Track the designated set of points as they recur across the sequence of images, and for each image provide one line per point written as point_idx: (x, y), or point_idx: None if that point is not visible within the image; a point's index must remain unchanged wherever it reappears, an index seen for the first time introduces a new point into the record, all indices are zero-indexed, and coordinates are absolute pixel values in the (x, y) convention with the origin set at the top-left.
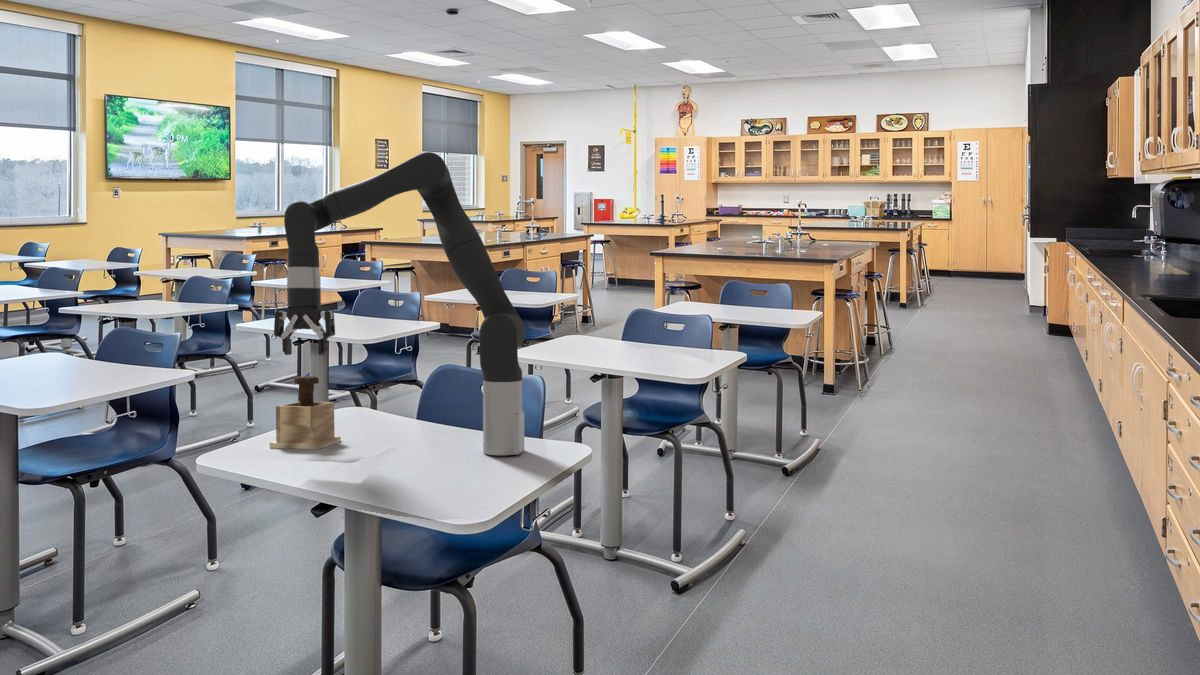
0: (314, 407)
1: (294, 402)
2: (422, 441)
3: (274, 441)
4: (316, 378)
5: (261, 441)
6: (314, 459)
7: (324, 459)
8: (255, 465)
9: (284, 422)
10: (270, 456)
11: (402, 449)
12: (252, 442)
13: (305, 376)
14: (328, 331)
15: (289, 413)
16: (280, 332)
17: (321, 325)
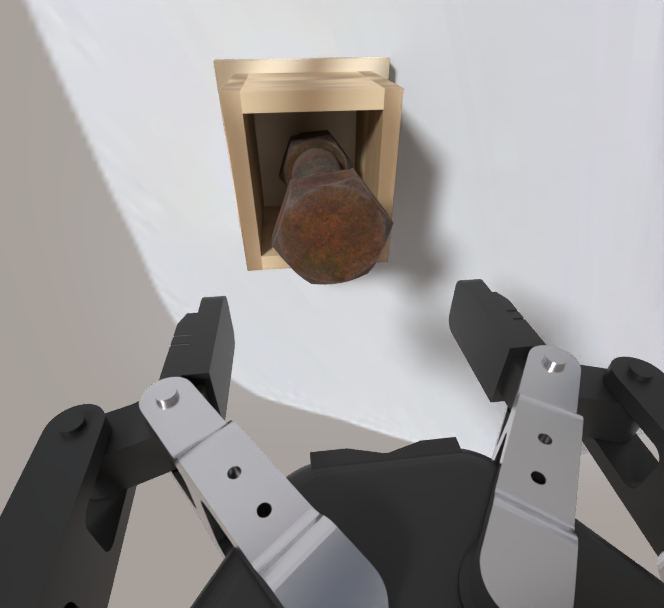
0: (387, 259)
1: (231, 135)
2: (657, 6)
3: (236, 202)
4: (387, 235)
5: (118, 103)
6: (416, 322)
7: (435, 318)
8: (337, 381)
9: None
10: (314, 313)
11: (586, 178)
12: (107, 131)
13: (308, 203)
14: (613, 450)
15: None
16: (133, 482)
17: (577, 449)
